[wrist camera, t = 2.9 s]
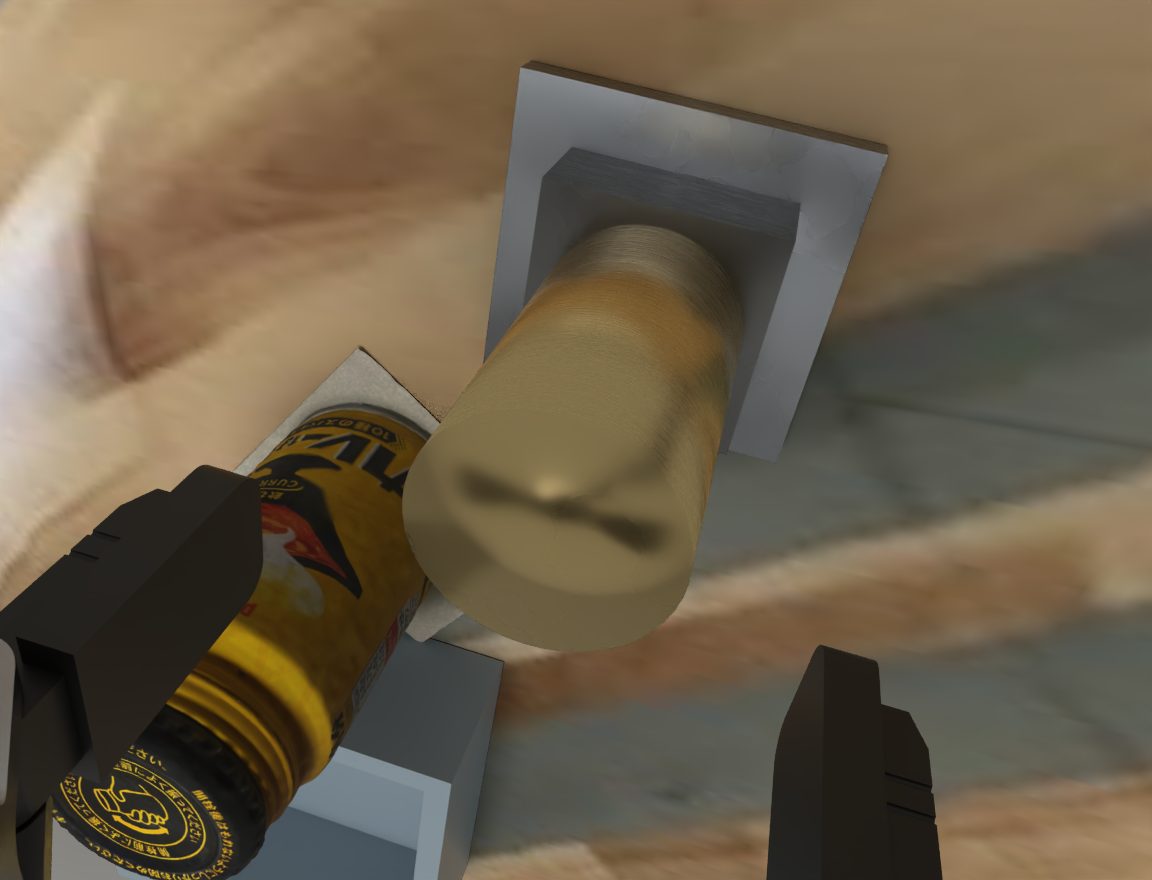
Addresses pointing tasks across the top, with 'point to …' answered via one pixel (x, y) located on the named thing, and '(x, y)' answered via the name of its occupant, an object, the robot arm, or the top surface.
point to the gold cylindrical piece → (601, 406)
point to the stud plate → (715, 153)
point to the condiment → (279, 643)
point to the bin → (394, 778)
